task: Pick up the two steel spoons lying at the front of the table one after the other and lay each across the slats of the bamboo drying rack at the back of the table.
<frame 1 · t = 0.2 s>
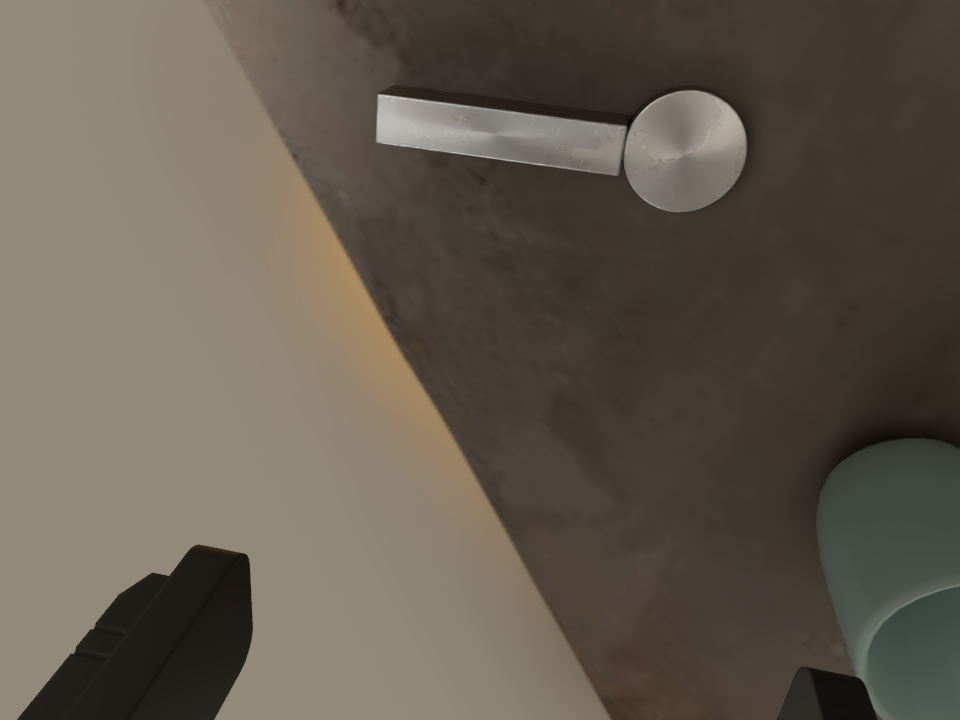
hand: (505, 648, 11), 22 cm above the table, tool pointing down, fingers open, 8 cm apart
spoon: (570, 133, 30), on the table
cup: (891, 485, 34), on the table
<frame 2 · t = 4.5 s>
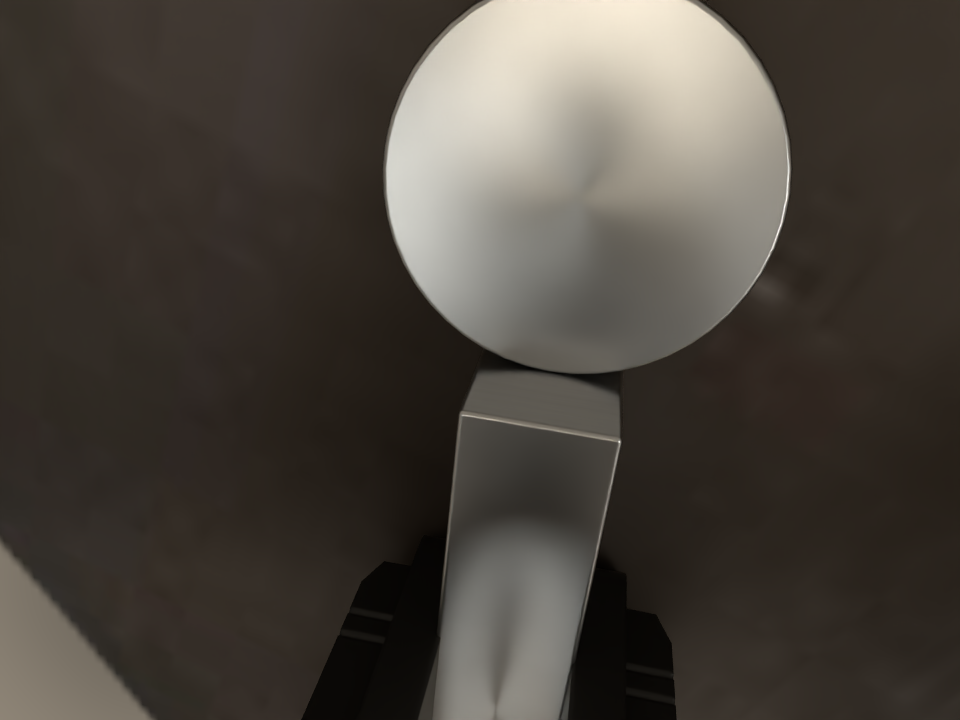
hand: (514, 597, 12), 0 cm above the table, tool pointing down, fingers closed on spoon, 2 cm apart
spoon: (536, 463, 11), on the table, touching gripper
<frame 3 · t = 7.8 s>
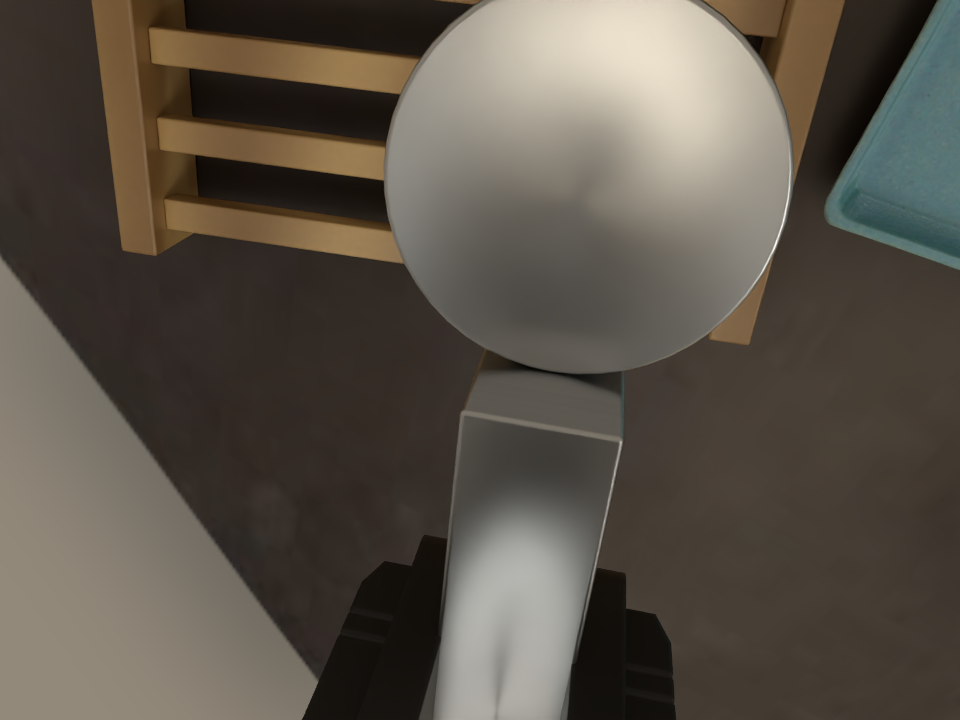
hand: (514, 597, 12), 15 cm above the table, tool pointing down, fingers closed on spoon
rack: (456, 71, 24), on the table
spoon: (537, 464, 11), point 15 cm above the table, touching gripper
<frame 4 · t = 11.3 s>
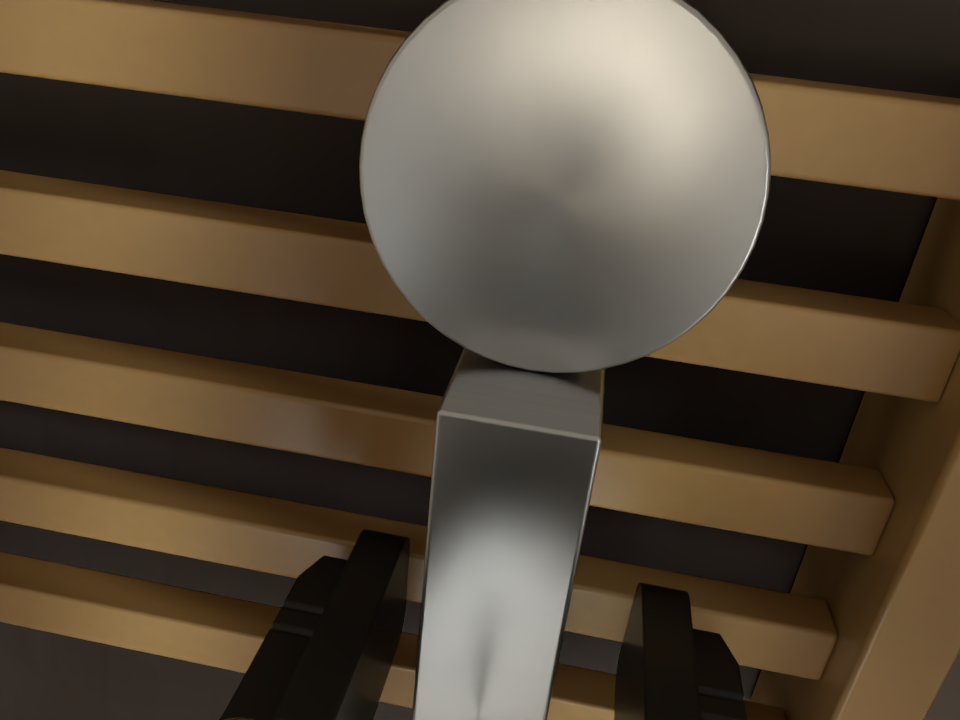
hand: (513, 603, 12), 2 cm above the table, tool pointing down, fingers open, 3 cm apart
rack: (334, 357, 14), on the table
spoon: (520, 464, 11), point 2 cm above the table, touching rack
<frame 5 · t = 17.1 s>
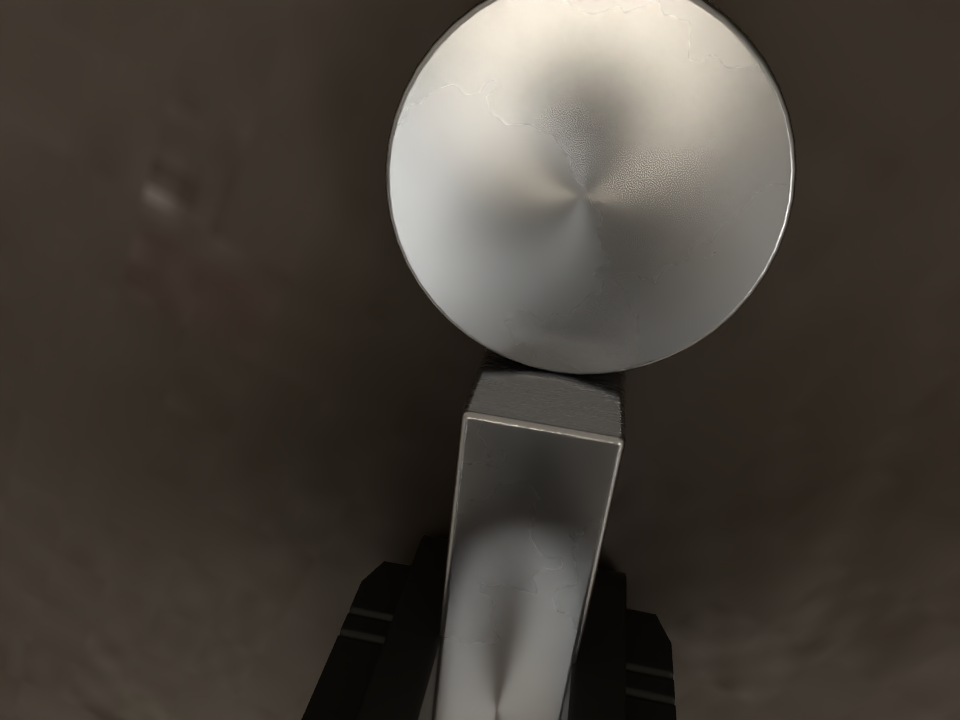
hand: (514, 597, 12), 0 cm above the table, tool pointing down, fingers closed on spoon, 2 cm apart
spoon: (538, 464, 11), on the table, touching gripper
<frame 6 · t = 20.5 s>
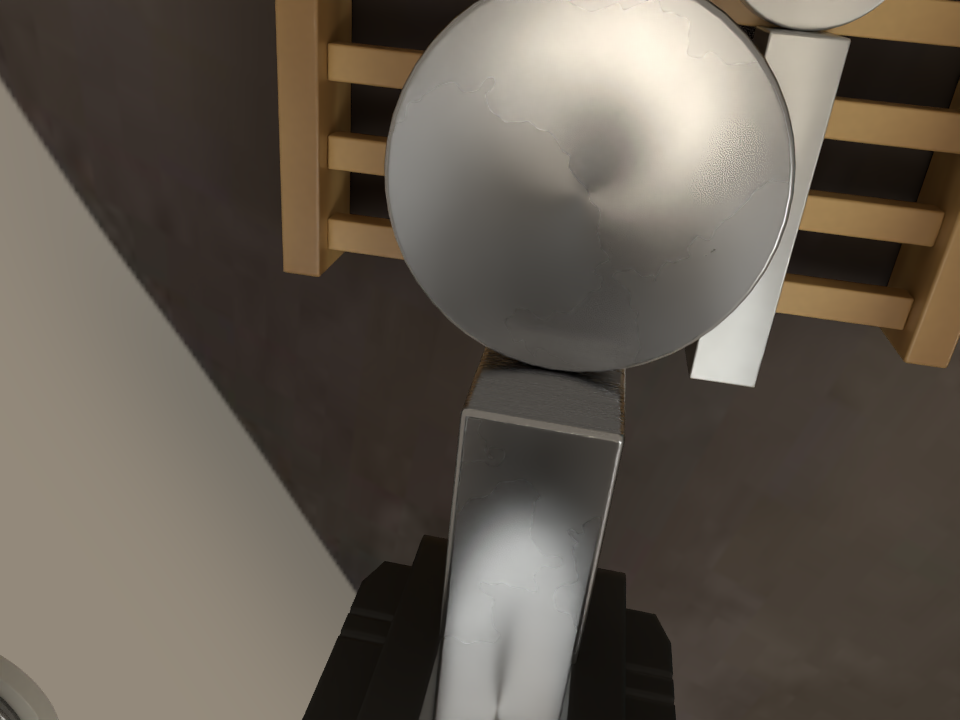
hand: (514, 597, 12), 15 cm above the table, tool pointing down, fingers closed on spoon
rack: (635, 86, 23), on the table
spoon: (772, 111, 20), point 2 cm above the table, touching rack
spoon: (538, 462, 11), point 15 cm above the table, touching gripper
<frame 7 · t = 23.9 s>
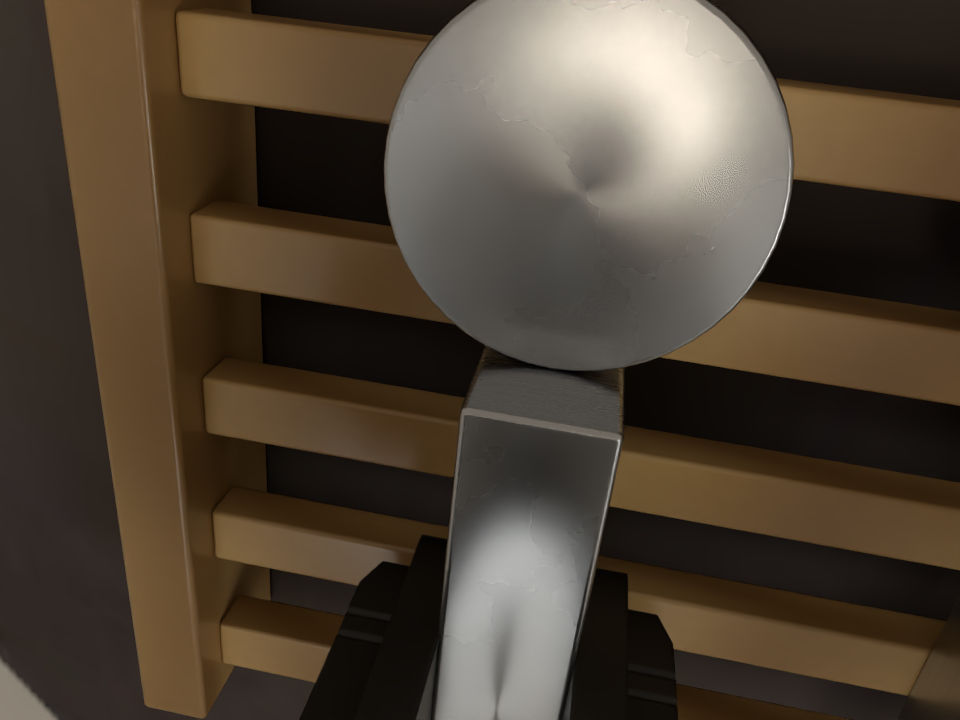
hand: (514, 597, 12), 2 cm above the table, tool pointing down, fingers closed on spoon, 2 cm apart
rack: (759, 426, 13), on the table
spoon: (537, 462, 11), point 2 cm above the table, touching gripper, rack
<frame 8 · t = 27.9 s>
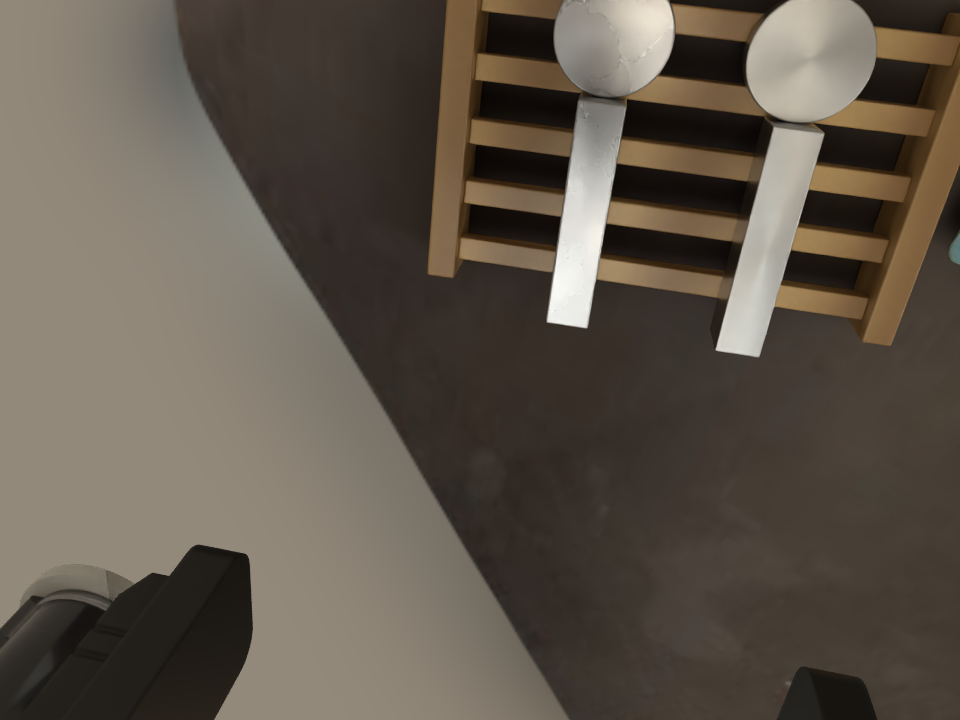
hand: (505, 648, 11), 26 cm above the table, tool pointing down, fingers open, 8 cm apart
rack: (679, 148, 33), on the table
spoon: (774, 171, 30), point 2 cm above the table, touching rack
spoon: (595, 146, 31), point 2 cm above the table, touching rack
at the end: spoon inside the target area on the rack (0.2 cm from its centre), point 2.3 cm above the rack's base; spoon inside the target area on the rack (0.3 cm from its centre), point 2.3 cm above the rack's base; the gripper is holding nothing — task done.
